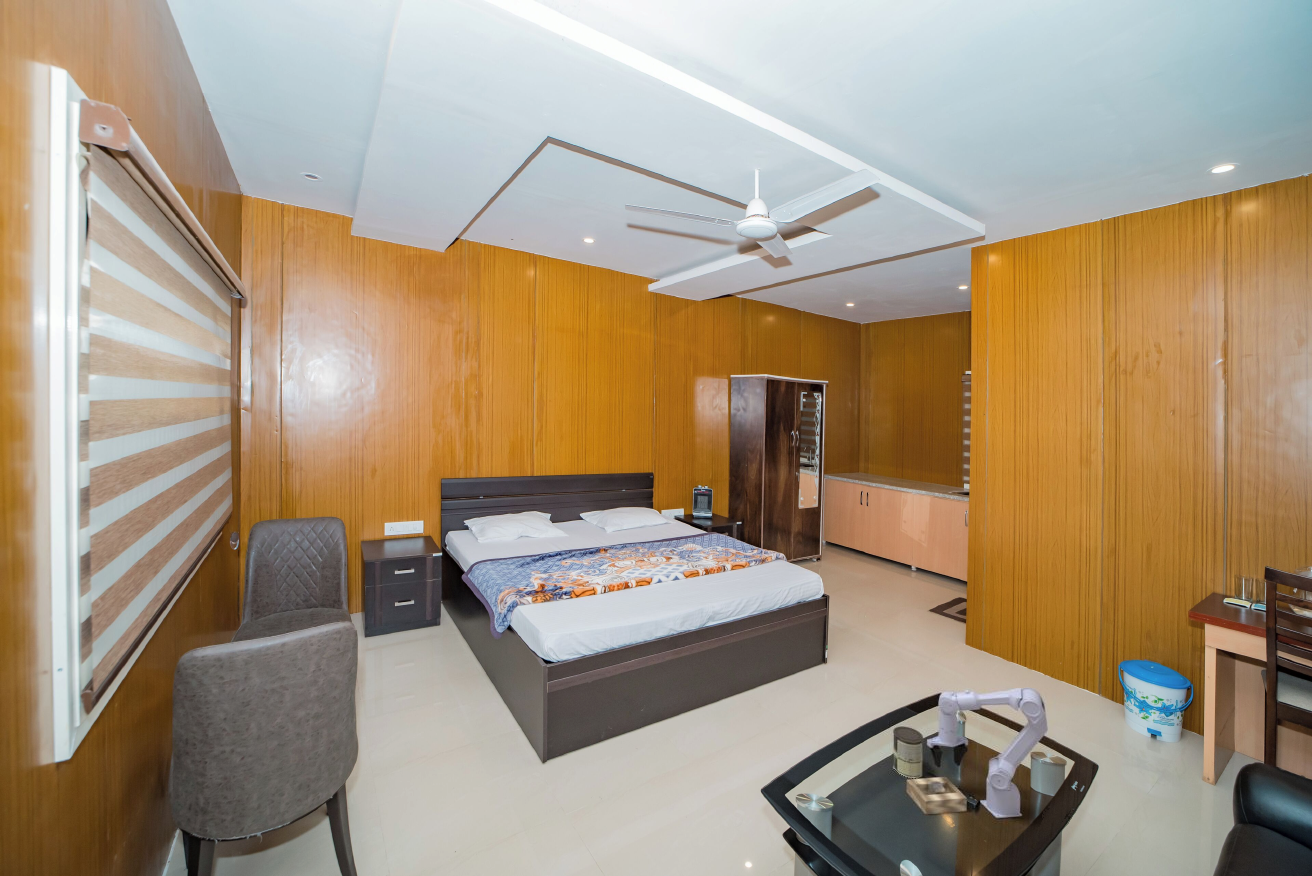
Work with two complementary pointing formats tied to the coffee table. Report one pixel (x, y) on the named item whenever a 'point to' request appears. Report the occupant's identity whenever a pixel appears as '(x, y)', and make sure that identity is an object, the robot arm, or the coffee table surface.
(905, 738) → the coffee can
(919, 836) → the coffee table surface
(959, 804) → the tan wooden rectangular frame
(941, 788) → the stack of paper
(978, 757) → the coffee table surface
